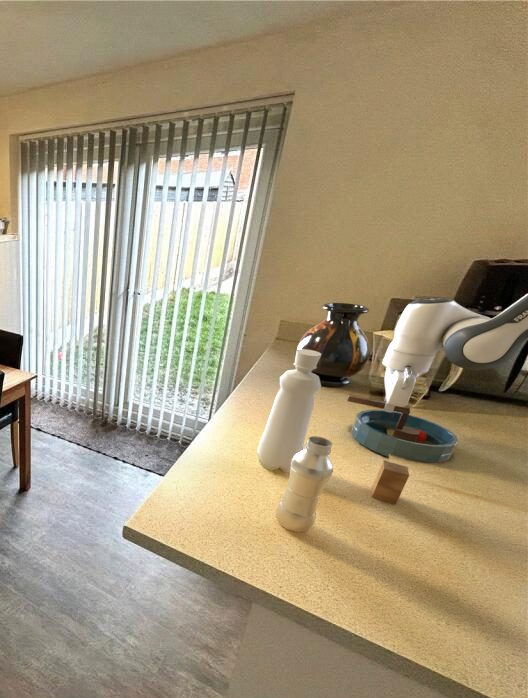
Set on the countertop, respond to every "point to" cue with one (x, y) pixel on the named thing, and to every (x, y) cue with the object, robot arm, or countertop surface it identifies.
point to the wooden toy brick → (390, 482)
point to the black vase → (338, 344)
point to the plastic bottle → (305, 485)
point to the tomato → (421, 436)
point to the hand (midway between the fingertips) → (387, 408)
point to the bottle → (290, 413)
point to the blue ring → (374, 436)
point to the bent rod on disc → (400, 430)
